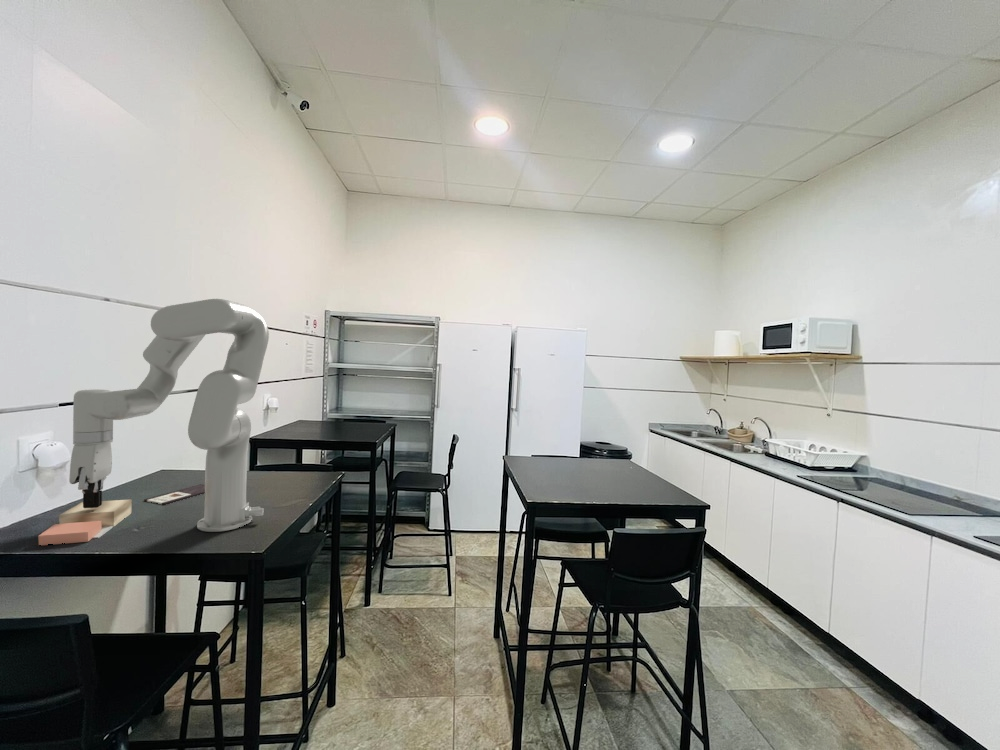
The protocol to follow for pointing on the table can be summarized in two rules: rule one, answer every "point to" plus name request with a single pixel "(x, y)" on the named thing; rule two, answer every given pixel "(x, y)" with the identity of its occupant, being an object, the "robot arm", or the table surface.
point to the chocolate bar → (177, 495)
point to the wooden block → (98, 513)
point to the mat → (102, 531)
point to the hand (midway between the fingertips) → (92, 506)
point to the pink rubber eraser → (70, 533)
